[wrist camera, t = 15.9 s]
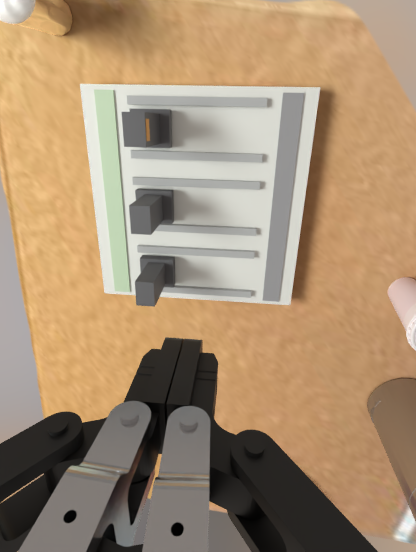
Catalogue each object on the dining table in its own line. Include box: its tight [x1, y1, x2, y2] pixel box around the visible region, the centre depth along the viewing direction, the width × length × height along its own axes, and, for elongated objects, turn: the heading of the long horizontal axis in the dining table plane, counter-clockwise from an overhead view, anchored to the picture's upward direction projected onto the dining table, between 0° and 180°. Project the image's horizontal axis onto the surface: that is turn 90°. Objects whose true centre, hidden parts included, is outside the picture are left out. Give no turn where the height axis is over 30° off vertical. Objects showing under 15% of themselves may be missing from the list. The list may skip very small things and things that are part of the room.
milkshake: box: [0, 0, 73, 36], centre depth 30 cm, size 4×5×10 cm
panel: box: [80, 84, 320, 306], centre depth 36 cm, size 24×24×9 cm
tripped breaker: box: [122, 109, 172, 148], centre depth 32 cm, size 4×4×7 cm
